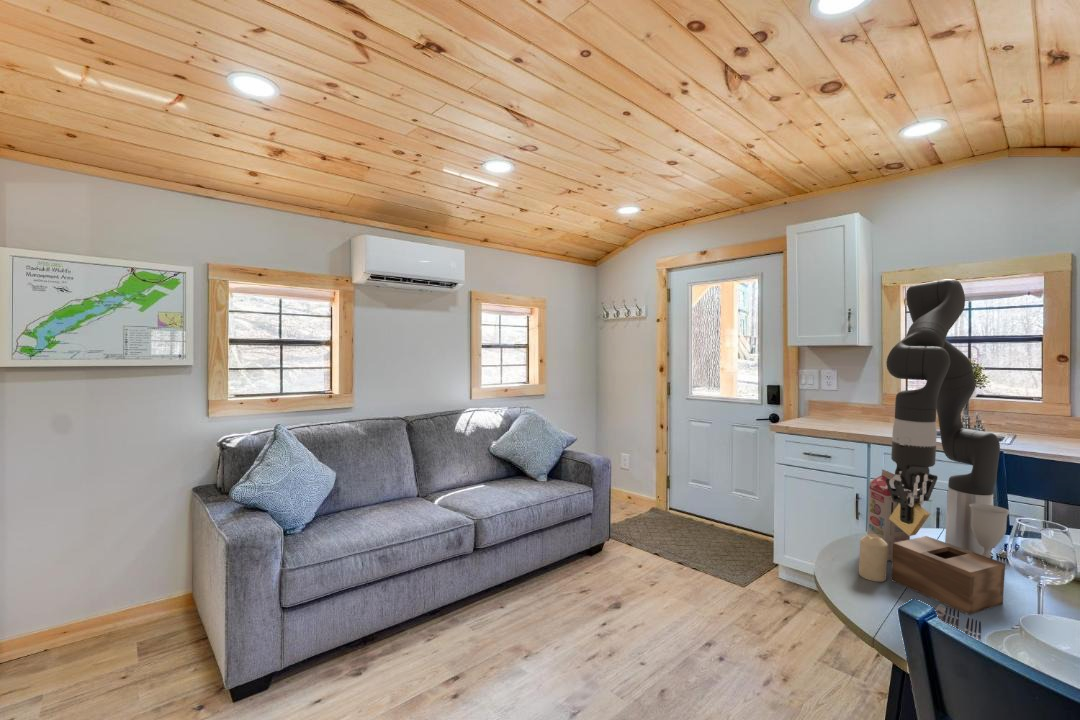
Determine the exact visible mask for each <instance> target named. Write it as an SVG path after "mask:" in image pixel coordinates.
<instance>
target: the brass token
mask: <svg viewBox="0 0 1080 720" xmlns="http://www.w3.org/2000/svg"><path fill="white" fill-rule="evenodd" d="M907 499H908V497H907ZM929 516H931V513H930V512H929V511H927V510H926V509H924V508H923V507H922V505H921V506H919V505H918V504H917V503H915V502H914V505H913V518H912V523H911V524H907V523H904V522H902V521H901V520H900V503H899V504H898V505H897V507H896V508H895V510H894V511H893V513H892V514H891V516H890V518H889V519H890V520H891V521H892V522H893V523H895V524H896V525H897V526H898V527H899V528H900V529H902V530H903V531H904V532H905V533H906V534H908V535H909V536H910V537H912V536H916V535H917V534H918V532H919V531H920V529H921V528H922V527H923V525H924V524H925V522H926V521H927V519H928V518H929Z"/></svg>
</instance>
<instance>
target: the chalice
mask: <svg viewBox="0 0 1080 720" xmlns="http://www.w3.org/2000/svg"><path fill="white" fill-rule="evenodd" d="M969 506H970V508H971V510H972V515H971V528H972V530H973V533H974V535H975V537H976V539H977V541H978V543H979V545H981V546H982V547H984V553H983V554H982V556H985V557H988V558H991V559H992V556H991V552H989V551H990V548H991V549H995V548H996V547H997V546H998V545H999V544H1000V542H1002V539H1003V538H1004V537H1005V534H1006V533H1007V522H1008V516H1009V514H1010V513H1011V511H1010V509H1007V508H1005V507H1001V506H997V505H994V504H993V505H987V504H970V505H969Z"/></svg>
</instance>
